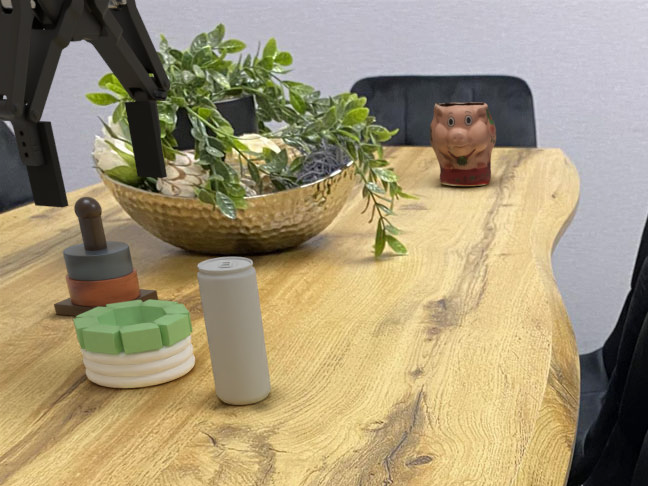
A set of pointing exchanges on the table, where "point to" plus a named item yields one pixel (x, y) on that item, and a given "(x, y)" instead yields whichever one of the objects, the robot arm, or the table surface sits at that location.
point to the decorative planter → (463, 142)
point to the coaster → (140, 366)
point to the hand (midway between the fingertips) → (105, 190)
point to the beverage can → (234, 329)
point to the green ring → (132, 326)
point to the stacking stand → (98, 267)
